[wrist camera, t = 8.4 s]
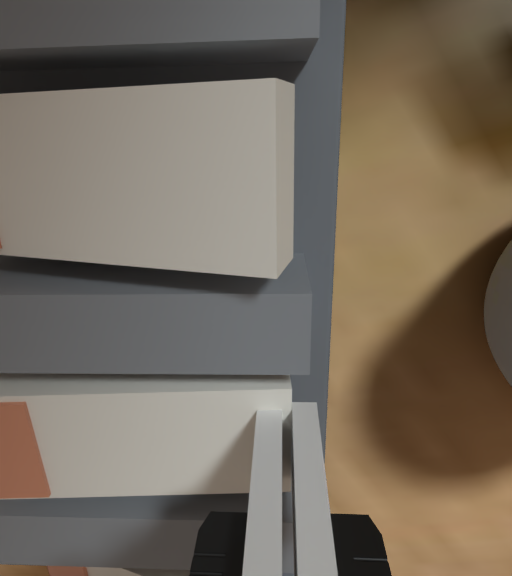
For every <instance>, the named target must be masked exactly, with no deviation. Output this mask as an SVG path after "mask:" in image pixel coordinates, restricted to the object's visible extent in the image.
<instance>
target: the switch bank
mask: <svg viewBox="0 0 512 576" xmlns="http://www.w3.org/2000/svg"><path fill="white" fill-rule="evenodd" d="M345 17H346V0H0V94H7V93H25V92H42V91H59V90H76V89H93V88H110V87H127V86H144V85H161V84H179V83H196V82H213V81H230V80H247V79H264V78H278V79H281V80H284V81H287V82H290V83H293V84H295V119H294V227H293V259H292V260H291V261H290V263H289V264H288V265H287V267H286V268H285V269H284V270H283V272H282V273H281V274H280V276H279V277H278V278H277V279H270V278H259V277H248V276H236V275H225V274H214V273H202V272H191V271H179V270H168V269H157V268H145V267H134V266H122V265H111V264H100V263H88V262H77V261H66V260H54V259H43V258H31V257H20V256H9V255H0V373H44V374H216V375H290V379H291V386H292V402H317V409H318V417H319V425H320V433H321V442H322V450H323V458H324V462H325V441H326V420H327V399H328V378H329V356H330V335H331V314H332V293H333V272H334V250H335V229H336V208H337V187H338V166H339V144H340V123H341V102H342V81H343V60H344V38H345ZM248 504H249V493H228V494H190V495H152V496H114V497H76V498H38V499H0V564H10V565H43V566H76V567H108V568H141V569H173V570H190V568H191V563H192V558H193V556H194V549H195V544H196V539H197V534H198V530H199V528H200V527H201V525H202V524H203V522H204V521H205V519H206V518H207V516H208V514H209V513H210V511H216V512H248ZM282 576H294V550H293V510H292V446H291V492H282Z"/></svg>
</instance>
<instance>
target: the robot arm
mask: <svg viewBox="0 0 512 576" xmlns="http://www.w3.org/2000/svg"><path fill="white" fill-rule="evenodd" d="M292 510H293V550H294V576H392V575H391V571H390V567H389V563H388V561H387V555H386V551H385V546H384V542H383V538H382V535H381V533H380V532H379V530H378V529H377V527H376V526H375V524H374V523H373V521H372V520H371V518H370V517H369V515H357V514H330V507H329V499H328V491H327V482H326V474H325V466H324V458H323V450H322V442H321V433H320V425H319V417H318V409H317V402H292ZM189 576H282V410H257V414H256V425H255V437H254V448H253V459H252V470H251V481H250V493H249V504H248V512H216V511H210V513H209V514H208V516H207V518H206V519H205V521H204V522H203V524H202V525H201V527H200V528H199V530H198V534H197V539H196V544H195V549H194V556H193V558H192V563H191V568H190V575H189Z"/></svg>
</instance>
